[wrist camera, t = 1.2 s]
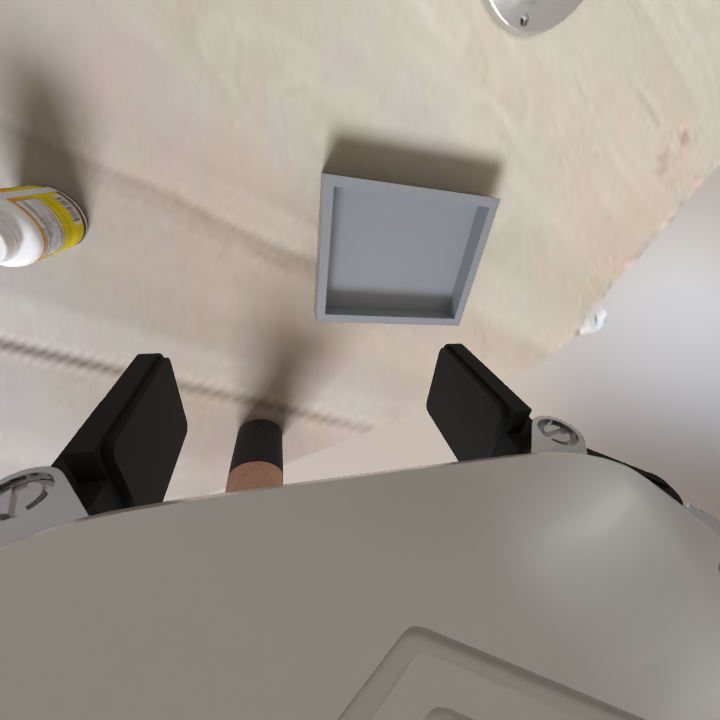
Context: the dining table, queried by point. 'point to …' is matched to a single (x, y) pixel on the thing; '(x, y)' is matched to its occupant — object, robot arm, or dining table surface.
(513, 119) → the dining table surface
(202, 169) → the dining table surface
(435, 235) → the tray
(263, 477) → the travel mug
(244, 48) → the dining table surface
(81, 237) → the supplement bottle
